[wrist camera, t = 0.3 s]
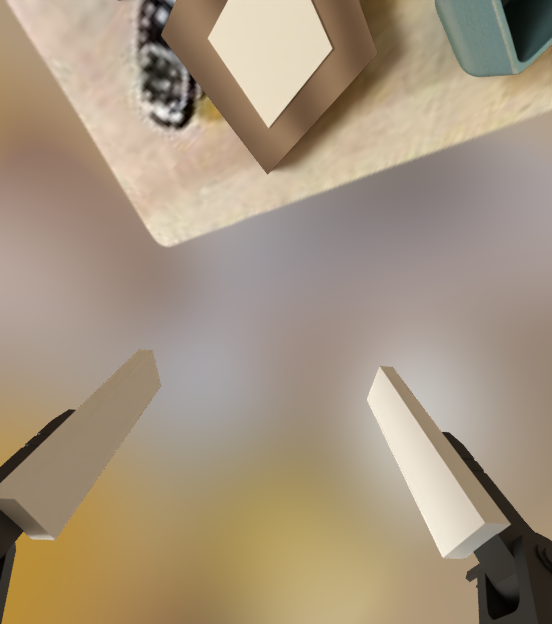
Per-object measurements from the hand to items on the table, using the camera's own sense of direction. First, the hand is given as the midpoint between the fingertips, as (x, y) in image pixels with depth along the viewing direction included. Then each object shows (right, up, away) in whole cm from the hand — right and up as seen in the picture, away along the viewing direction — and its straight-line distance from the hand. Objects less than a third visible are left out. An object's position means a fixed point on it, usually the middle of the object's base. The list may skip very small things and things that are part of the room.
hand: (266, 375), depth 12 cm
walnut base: (0, +30, +9) cm, 31 cm away
